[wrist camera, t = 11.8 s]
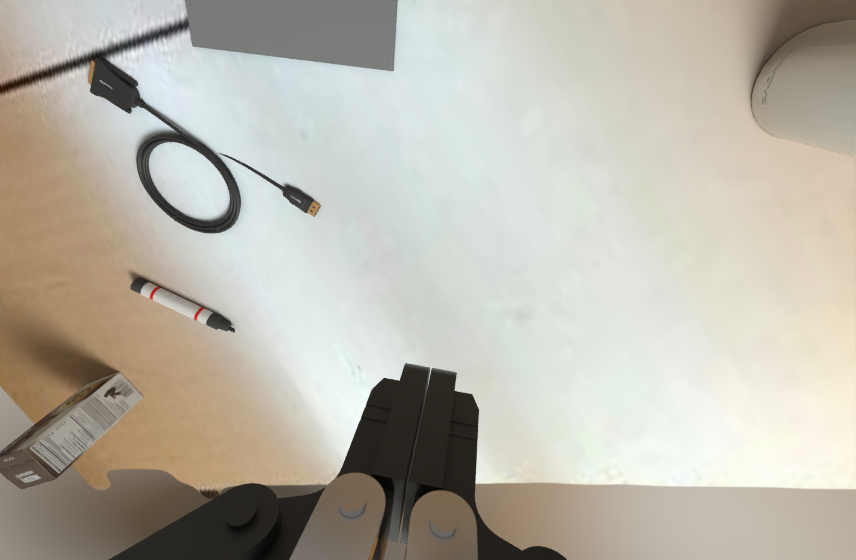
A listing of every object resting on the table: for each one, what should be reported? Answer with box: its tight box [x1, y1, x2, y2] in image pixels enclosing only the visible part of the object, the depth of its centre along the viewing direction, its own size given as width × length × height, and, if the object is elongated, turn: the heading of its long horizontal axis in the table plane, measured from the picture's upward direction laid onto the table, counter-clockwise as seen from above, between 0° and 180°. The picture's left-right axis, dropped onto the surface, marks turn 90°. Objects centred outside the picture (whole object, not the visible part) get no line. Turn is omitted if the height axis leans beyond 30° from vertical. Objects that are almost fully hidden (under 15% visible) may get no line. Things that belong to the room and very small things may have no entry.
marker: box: [131, 278, 235, 332], centre depth 57 cm, size 15×2×2 cm, turn 64°
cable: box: [88, 58, 321, 233], centre depth 48 cm, size 14×28×2 cm, turn 56°
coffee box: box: [0, 372, 143, 489], centre depth 63 cm, size 9×6×16 cm
